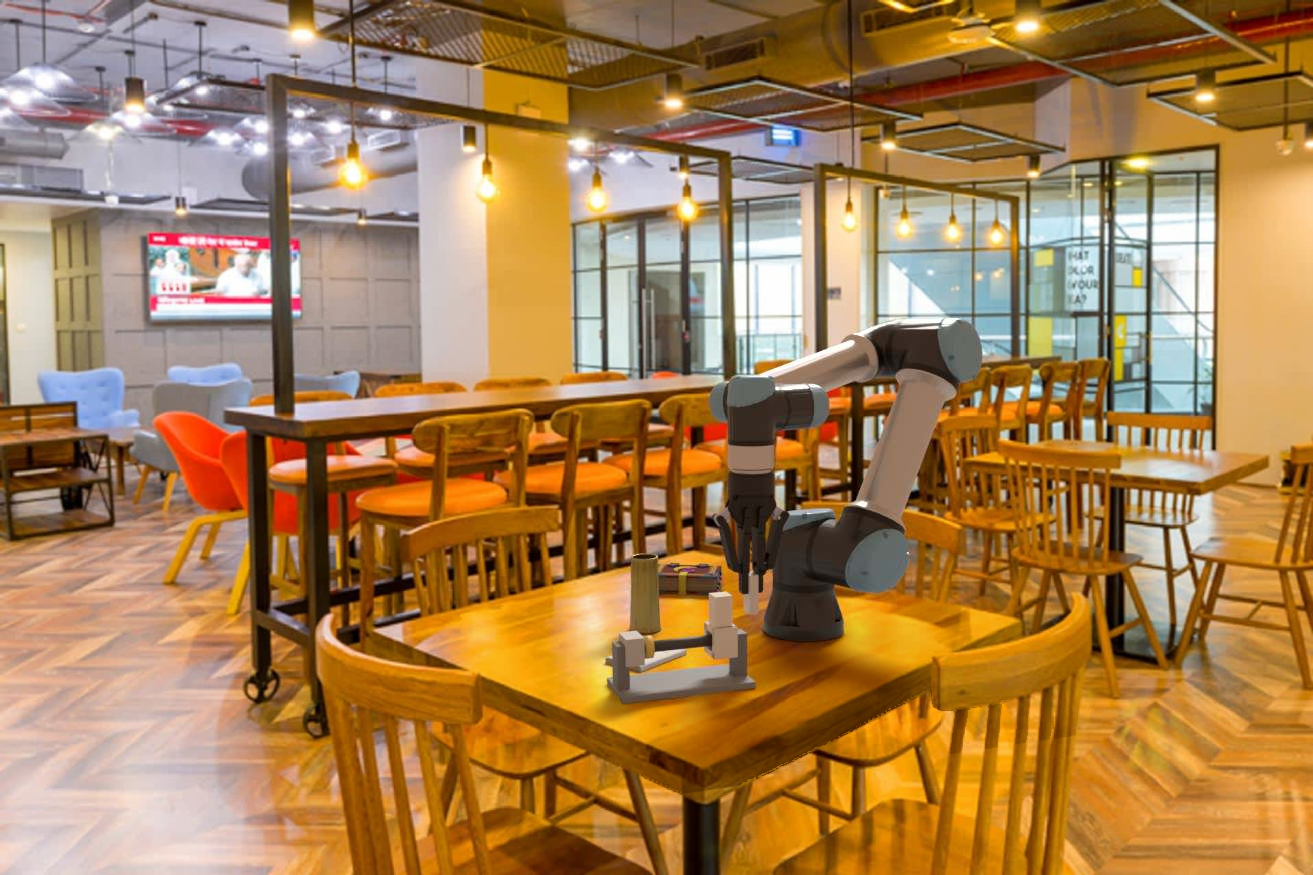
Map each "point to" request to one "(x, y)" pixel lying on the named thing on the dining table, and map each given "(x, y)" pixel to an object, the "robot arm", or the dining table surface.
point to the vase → (644, 594)
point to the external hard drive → (655, 659)
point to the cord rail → (673, 682)
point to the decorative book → (689, 579)
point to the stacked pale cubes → (721, 627)
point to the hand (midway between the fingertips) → (751, 612)
